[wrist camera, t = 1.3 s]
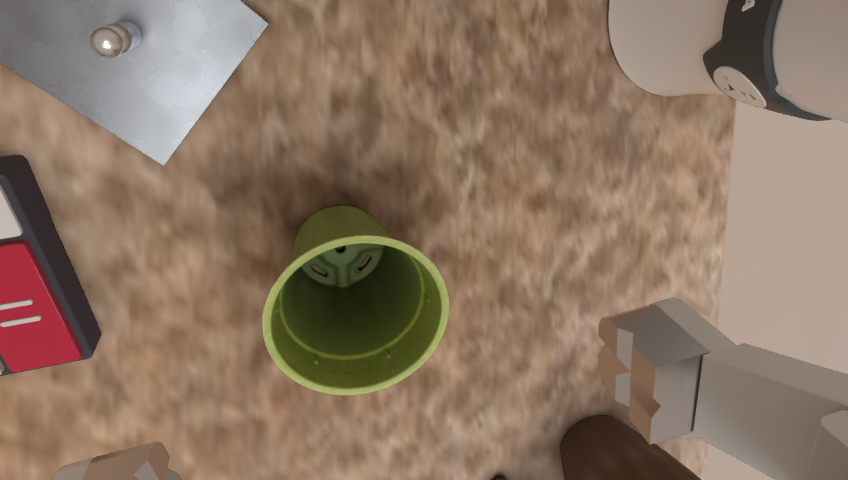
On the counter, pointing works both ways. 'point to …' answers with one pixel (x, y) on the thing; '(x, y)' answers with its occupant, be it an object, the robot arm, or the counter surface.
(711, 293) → the counter surface
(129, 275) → the counter surface
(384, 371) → the plant pot
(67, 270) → the calculator
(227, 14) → the mounting plate
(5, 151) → the counter surface
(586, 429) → the plant pot
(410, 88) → the counter surface
